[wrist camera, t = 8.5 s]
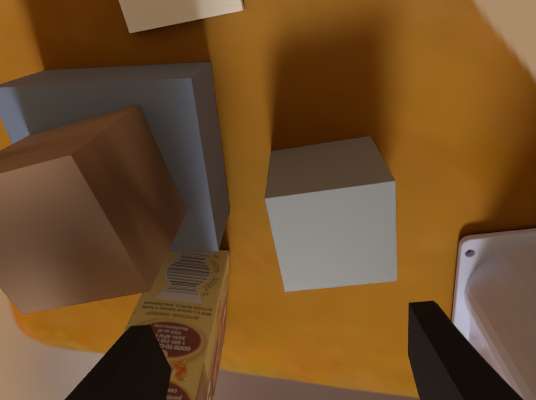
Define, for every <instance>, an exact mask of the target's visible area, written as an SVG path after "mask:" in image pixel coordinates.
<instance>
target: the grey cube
mask: <svg viewBox="0 0 536 400" xmlns="http://www.w3.org/2000/svg"><path fill="white" fill-rule="evenodd" d="M265 202H266V207H267V211H268V216H269V220H270V225H271V229H272V234H273V239H274V243H275V248H276V252H277V257H278V261H279V266H280V270H281V275H282V280H283V284H284V289H285V292H289V291H299V290H309V289H319V288H330V287H340V286H350V285H360V284H370V283H380V282H391V281H397V251H396V194H395V180H394V178H393V176H392V174H391V172H390V170H389V169H388V167H387V165H386V163H385V161H384V159H383V158H382V156H381V154H380V152H379V150H378V149H377V147H376V145H375V143H374V141H373V139H372V138H371V136H366V137H360V138H353V139H347V140H340V141H334V142H327V143H320V144H314V145H307V146H301V147H294V148H288V149H281V150H275V151H271V154H270V162H269V170H268V177H267V185H266V193H265Z"/></svg>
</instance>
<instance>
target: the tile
mask: <svg viewBox="0 0 536 400" xmlns="http://www.w3.org/2000/svg"><path fill="white" fill-rule="evenodd" d="M119 3H120V6H121V9H122V12H123V15H124V18H125V21H126V24H127V27H128V30H129V33H134V32H139V31H144V30H149V29H154V28H159V27H164V26H168V25H173V24H178V23H183V22H188V21H193V20H198V19H203V18H208V17H213V16H218V15H223V14H228V13H233V12H237V11H242V10H245V9H244V4H243V0H119Z"/></svg>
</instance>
